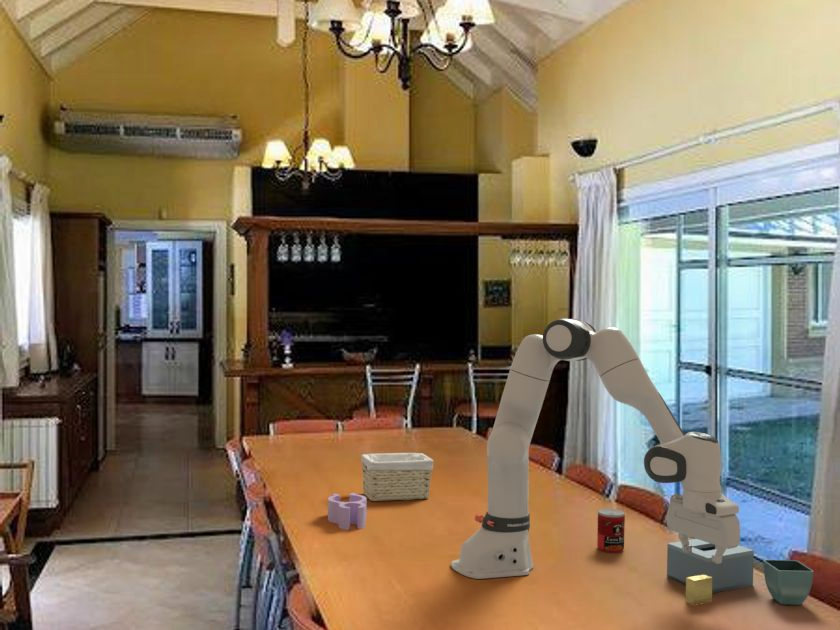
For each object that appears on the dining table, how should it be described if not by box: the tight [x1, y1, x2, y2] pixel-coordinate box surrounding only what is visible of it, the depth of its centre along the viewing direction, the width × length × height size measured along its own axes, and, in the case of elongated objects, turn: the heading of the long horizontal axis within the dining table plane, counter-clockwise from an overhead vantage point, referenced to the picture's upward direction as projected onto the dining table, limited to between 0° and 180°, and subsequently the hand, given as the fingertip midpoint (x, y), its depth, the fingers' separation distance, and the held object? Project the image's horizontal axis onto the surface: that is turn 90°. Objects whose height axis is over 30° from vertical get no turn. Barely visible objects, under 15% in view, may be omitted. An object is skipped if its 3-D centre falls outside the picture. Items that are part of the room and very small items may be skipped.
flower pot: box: [762, 559, 815, 606], centre depth 206 cm, size 9×9×9 cm
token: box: [685, 574, 713, 606], centre depth 205 cm, size 6×2×6 cm, turn 117°
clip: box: [327, 492, 368, 531], centre depth 273 cm, size 20×12×7 cm, turn 15°
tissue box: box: [666, 538, 755, 594], centre depth 220 cm, size 16×14×9 cm
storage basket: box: [360, 452, 434, 502], centre depth 308 cm, size 24×16×15 cm
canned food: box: [596, 508, 626, 554], centre depth 247 cm, size 8×8×11 cm
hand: (701, 557), depth 205 cm, fingers open, 8 cm apart
